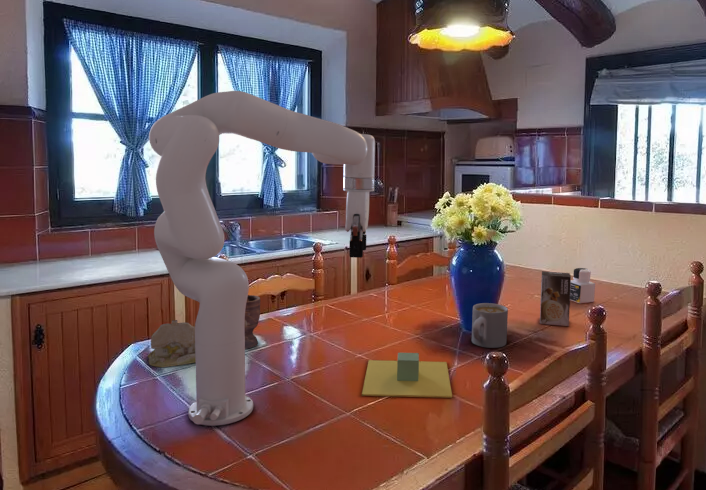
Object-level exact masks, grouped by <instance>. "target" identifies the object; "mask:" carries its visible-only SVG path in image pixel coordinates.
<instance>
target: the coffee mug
mask: <svg viewBox="0 0 706 490" xmlns="http://www.w3.org/2000/svg"><path fill="white" fill-rule="evenodd" d="M471 317H472V319H471V320H472V322H471V343H472V344H473V345H475V346H478V347H482V348H486V349H487V348H489V349H495V348H502V347H505V346H506V345H507V339H508V338H507V337H508V317H509V308H508V307H507V306H504V305H502V304H498V303H491V302H490V303H489V302H482V303H476V304H473V306H472V316H471Z"/></svg>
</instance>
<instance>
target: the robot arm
mask: <svg viewBox="0 0 706 490" xmlns="http://www.w3.org/2000/svg"><path fill="white" fill-rule="evenodd" d="M149 130H150V131H149V133H148V140H149V145H150V147H151V149H152V150H153V152H155V153H156V154H157V155H158V156H159V157H160V158H159V159H160V160H159V162H158V164H157V169H156V175H155V187H156V191H157V195H158V198H159V201H160V204H161V206H162V210H163V212H162V213H161V214H160V215H159V216H158V217H157V219H156V221H155V223H154V229H153V235H154V241H155V244H156V247H157V250H158V252H159V254H160V256H161V259H162V261H163V263H164V266H165V268H166V270H167V273H168V274H169V276H170V278H171V281H172V283H173V285H174V286H175V288H176V289H177V291H178V292H179V293H181V294H182V295H183V296H185V297H186V298H188V299H190V300H193V301H196V302H198V303H199V306H198V312H197V314H196V318H195V323H194V327H195V358H196V362H195V394H196V395H195V396H196V398H195V399H196V401H194V402H192V404H191V405H190V406H189V408H188V409H187V412H188V413H187V414H188V415H187V416H188V418H189V420H190V421H192V422H193V423H194V424H195V425H202V426H209V427H210V426H211V427H213V426H224V425H229V424H234V423H236V422H240V421H241V420H243V419H245V418H246V417H248V416H249V415H250V414H251V413H252V412H253V410H254V401H253V399H252V398H251V397H250V396H248V395H246V349H245V309H246V302H247V297H248V295H249V291H250V290H249V289H250V282H249V278H248V275H247V273H246V272H245V269H243V268H242V267H241V266H240V265H238V264H237V263H235V262H233V261H231V260H227V259H225V258H221V257H216V256H217V255H219V254H220V252H221V251H222V250H223V248H224V245H225V232H224V229H223V226H222V224H221V221H220V219H219V216H218V214H217V210H216V209H215V206H214V203H213V201H212V198H211V195H210V192H209V189H208V186H207V179H206V175H207V174H206V173H207V170H208V166H209V164H210V162H211V160H212V158H213V157H214V155H215V153H216V152H217V149H218V148H219V144H220V136H221V135H222V134H225V135H226V134H232V135H237V136H241V137H244V138H246V139H250V140H254V141H256V142H260V143H263V144H266V145H268V146H271V147H274V148H276V149H279V150H285V151H289V152H298V153H309V154H312V156H313V158H314V159H315V160H316V161H318V162H320V163H322V164H326V165H341V166H343V191H344V192H347V194H346V204H345V205H346V206H345V207H346V208H345V227H344V229H345V231H346V233H348V232H350V236H349V250H348V252H349V253H348V254H349V258H357V259H361V258H363V257H364V251H366V250H367V229H368V228H369V227H368V226H369V218H370V217H369V216H370V215H369V214H370V192H375V168H376V167H375V165H376V164H375V163H376V162H375V161H376V156H375V155H376V139H375V137H374V136H373V135H371V134H367V133H366V134H365V133H360V132H359V131H356V130H354V129H351V128H349V127H347V126H344V125H342V124H340V123H337V122H333V121H330V120H326V119H322V118H319V117H315V116H311V115H309V114H306V113H302V112H297V111H294V110H292V109H288V108H286V107H283V106H281V105H279V104H276V103H274V102H271V101H268V100H266V99H264V98H261V97H259V96H256V95H254V94H252V93H248V92H245V91H241V90H227V91H219V92H213V93H210V94H208V95H205V96H203V97H201V98H199V99H197V100H195V101H192V102H191V103H188V104H186V105H184V106H183V107H180V108H178V109H176V110H174V111H172V112H170V113H168V114H165V115H164V116H161V117H160V118H158V119H156V121H155V122H154V123H153V124H152V126H151V127H150V129H149Z"/></svg>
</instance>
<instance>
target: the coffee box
mask: <svg viewBox="0 0 706 490" xmlns="http://www.w3.org/2000/svg"><path fill="white" fill-rule="evenodd" d="M571 280H572V276H571V273H570V272H558V271H544V270H541V280H540V281H541V284H540V307H539V308H540V309H539V324H540V325H551V326H563V327H569V326H570V309H571V300H570V285H571Z"/></svg>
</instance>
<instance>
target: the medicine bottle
mask: <svg viewBox="0 0 706 490" xmlns="http://www.w3.org/2000/svg"><path fill="white" fill-rule="evenodd" d="M591 273H592V272H591V270H590V269H588V268H586V267H577V268H574V269H573V275H572V279H571V285H570V302H571V301H572V302H575V303H577V304H587V303H594V302H595V294H596V283H595V282H592V281H591V275H592V274H591Z"/></svg>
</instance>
